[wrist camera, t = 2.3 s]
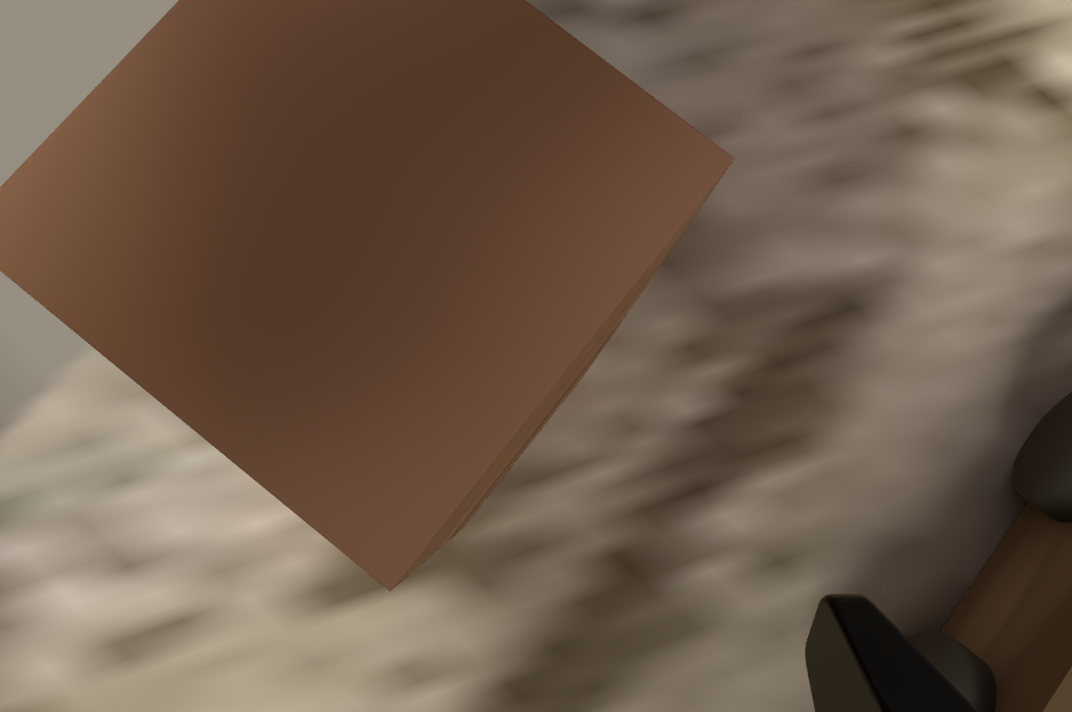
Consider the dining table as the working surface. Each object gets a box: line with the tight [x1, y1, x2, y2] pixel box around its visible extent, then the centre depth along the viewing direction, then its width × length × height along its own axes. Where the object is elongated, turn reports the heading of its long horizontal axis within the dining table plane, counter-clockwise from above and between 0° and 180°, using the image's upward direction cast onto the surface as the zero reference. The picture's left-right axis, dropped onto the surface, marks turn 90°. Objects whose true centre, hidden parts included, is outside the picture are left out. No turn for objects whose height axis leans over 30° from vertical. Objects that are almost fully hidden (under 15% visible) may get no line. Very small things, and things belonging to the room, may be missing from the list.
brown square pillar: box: [0, 0, 735, 591], centre depth 14 cm, size 4×4×13 cm
